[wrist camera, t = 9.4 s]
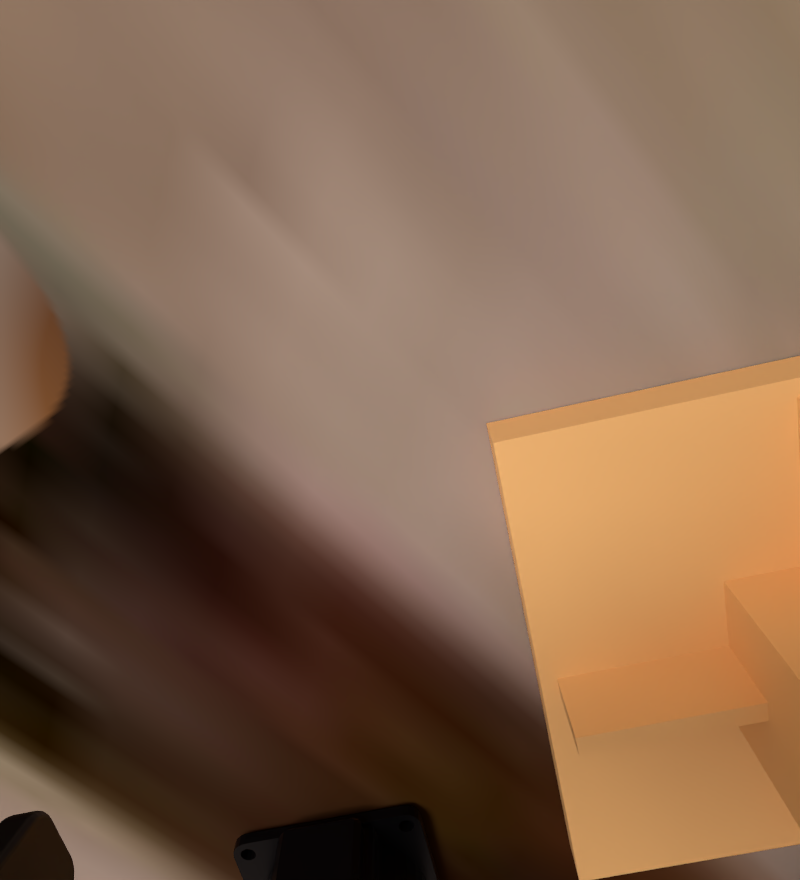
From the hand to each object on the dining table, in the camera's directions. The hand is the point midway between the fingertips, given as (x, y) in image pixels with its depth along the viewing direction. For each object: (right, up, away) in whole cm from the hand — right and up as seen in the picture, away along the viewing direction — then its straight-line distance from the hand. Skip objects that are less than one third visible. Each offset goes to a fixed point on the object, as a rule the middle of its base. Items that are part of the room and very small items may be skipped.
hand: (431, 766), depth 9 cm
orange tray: (+12, -1, +15) cm, 19 cm away
